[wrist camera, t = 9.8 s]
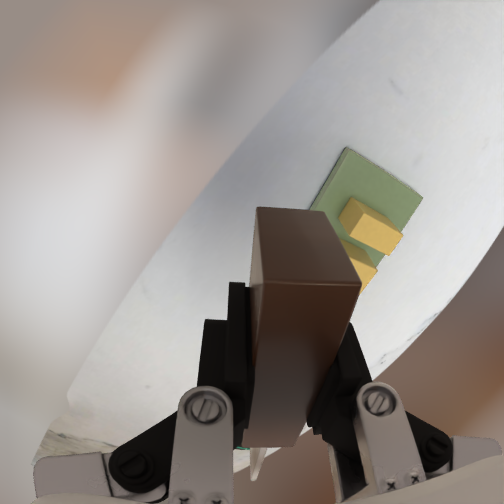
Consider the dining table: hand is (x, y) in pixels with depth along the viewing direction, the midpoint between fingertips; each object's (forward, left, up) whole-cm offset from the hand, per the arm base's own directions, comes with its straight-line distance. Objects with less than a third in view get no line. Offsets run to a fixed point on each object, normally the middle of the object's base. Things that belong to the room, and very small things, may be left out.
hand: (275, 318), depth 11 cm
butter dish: (+9, -2, -14) cm, 17 cm away
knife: (+1, -3, 0) cm, 3 cm away
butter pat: (+9, +2, -13) cm, 16 cm away
